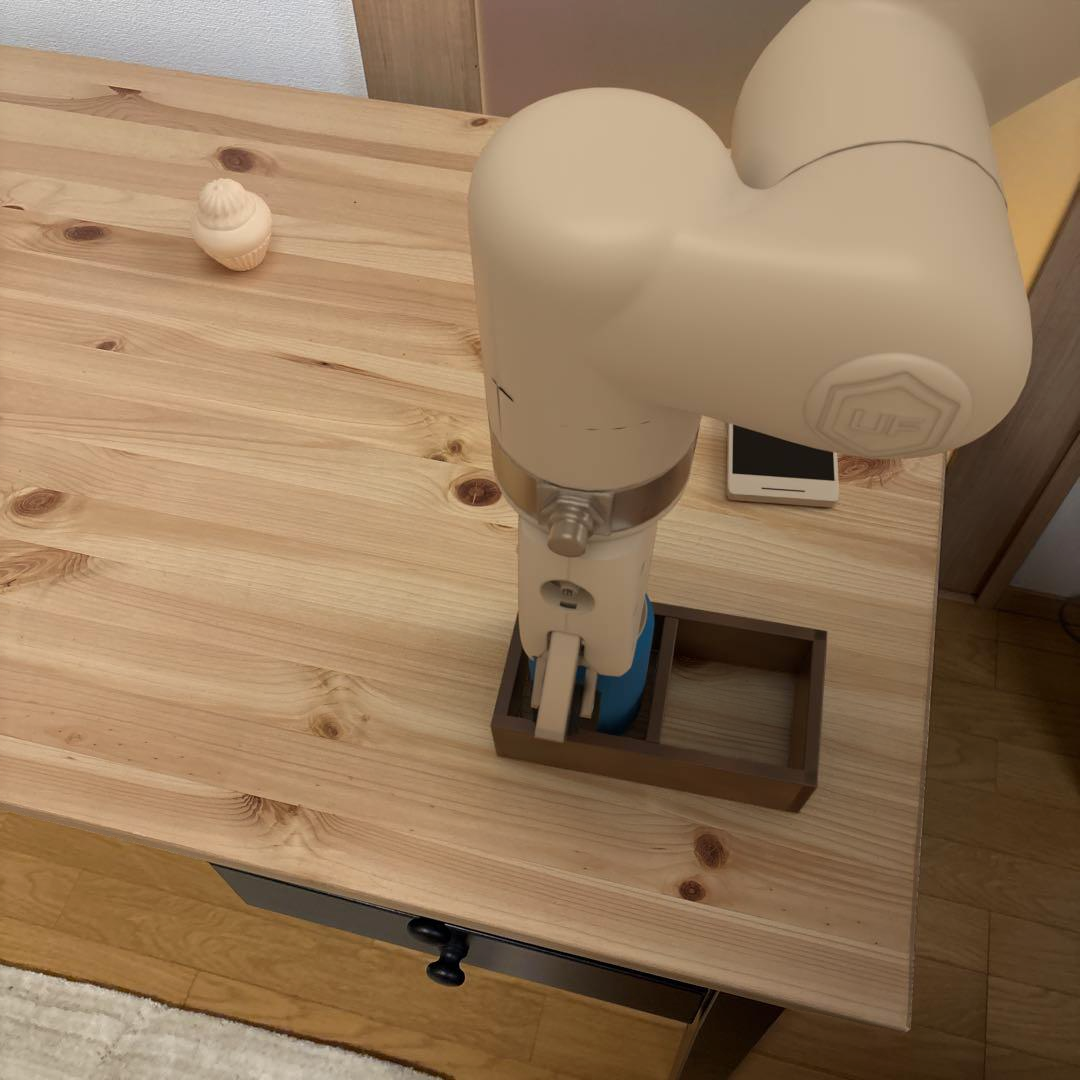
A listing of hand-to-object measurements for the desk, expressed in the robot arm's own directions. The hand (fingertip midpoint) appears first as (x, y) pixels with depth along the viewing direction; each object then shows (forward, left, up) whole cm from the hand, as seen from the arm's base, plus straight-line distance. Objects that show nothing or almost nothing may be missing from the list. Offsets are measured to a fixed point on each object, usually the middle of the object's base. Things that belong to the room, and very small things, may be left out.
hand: (583, 631), depth 51 cm
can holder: (-4, 0, -9) cm, 10 cm away
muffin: (+33, -31, -9) cm, 46 cm away
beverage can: (0, 0, -9) cm, 9 cm away
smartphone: (-10, -23, -9) cm, 27 cm away
